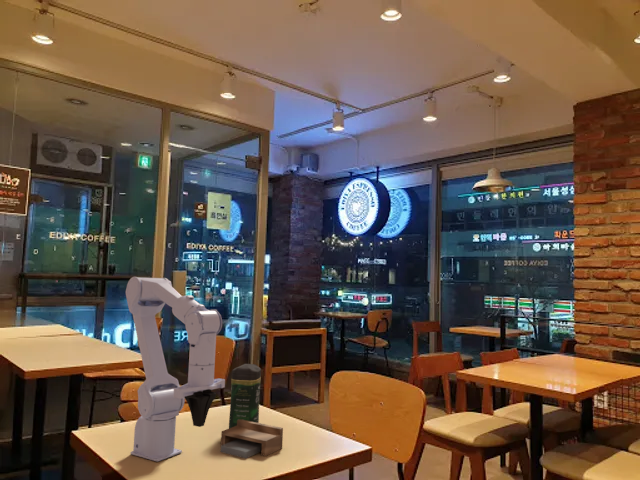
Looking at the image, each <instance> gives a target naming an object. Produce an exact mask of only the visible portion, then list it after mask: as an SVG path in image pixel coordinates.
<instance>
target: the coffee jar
mask: <svg viewBox="0 0 640 480" xmlns="http://www.w3.org/2000/svg"><path fill="white" fill-rule="evenodd" d="M261 375H262V368H261V367H259V366H258V365H257V364H254V363H253V364H252V363H243V364H242V365H239V366H237V367H235V368H234V369H232V371H231V379H230V381H231V383H230V384H231V385H230V386H231V388H230V404H229V405H230V407H229V419H228V429H229V428H232V427H235V426H237V420H239V419H241V420H246V421H251V422H256V423H260V421H259V420H260V419H259V415H260V393H261V378H262V376H261Z"/></svg>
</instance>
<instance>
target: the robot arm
mask: <svg viewBox="0 0 640 480" xmlns="http://www.w3.org/2000/svg"><path fill="white" fill-rule="evenodd" d="M125 297H126V302H127V306H128V310H129V313H131V314H132V317H133V323H134V328H135V332H136V337H137V343H138V345H139V346H138V347H139V351H140V356H141V361H142V365H143V370H144V375H145V380H144V381H143V382H142V384H140V385H139V387H138V389H137V397H138V398H137V399H138V400H137V409H138V412H139V414H140V416H139V417H138V419H137V421H136V422H135V424H134V435H133V448H132V449H133V450H131V451H130V453H129V454H131V455H133V456H136V457H138V458H139V457H140V458H144V459H147V460H150V461H154V462H161V461H164V460H165V459H168V458H171V457H174V456H176V455H179V454H181V453H182V452H183V451H182V450H181V449H179V448H175V444H176V443H175V441H176V423H177V422H176V420H177V416H179V414H180V412H181V411H182V410H183V408H184V406H185V401H186V404H187V405H188V408H189V410H190V416H191V419H192V424H193V426H194V427H200V428H201V427H204V426H205V423H206V421H207V420H206V419H207V416H208V415H209V411H210V408H211V406H212V403H214V400H215V398H217V397H216V395H217V393H216V392H215V391H213V390H217V389H224V388H226V379H225V378H215V365H216V364H215V363H216V349H217V348H216V346H217V335H218V334H219V333H220V332H221V330H222V328H223V319H222V315H221V314H220V312H219V311H218V309H207V308H206V307H205V305H204V304H201V303H199V302H198V301H196V300H195V297H194V296H193V295H192V294H190V295H182V294H180V293H179V292H178V291H177V290H176V289H175V288H174V287H173V284H172V281H171V280H169V279H168V278H166V277H142V276H141V277H137V276H132V277H131V278H130V279H129V280H128V282H127V284H126V289H125ZM165 305H167V306H169V307H170V308H172V309H171V311H172V315H174V317H176V318H177V319H178V320H179V321H181V322H182V323H183V324H184V325H185V330H186V332H187V343H189V355H188V357H189V359H188V373H187V375H188V377H187V383H185V384H183V385H180V383H179V380H178V378H176V377H175V376H172V375H171V374H170V373H169V371H168V368H167V364H166V360H165V355H164V351H163V346H162V342H161V337H160V334H159V333H160V332H159V329H158V324H157V319H156V315H157V314H158V313H161V311H162V310H163V308H164V306H165Z"/></svg>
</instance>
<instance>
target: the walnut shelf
mask: <svg viewBox="0 0 640 480" xmlns="http://www.w3.org/2000/svg"><path fill="white" fill-rule="evenodd" d="M283 431H284V428H283V427H280V426H275V425H271V424H265V423H260V422H259V423H256V422H251V421H246V420H241V419H239V420H237V426H235V427H232V428H229V427H228V428H227V429H225V430H222V431H221V434H220V435H221V437H220V438H221V439H220V446H221V445H224V444H226V443H229V442H231V441H234V440H236V439H244V440H248V441H253V442H257V443H261V444H262V450H261V452H260V455H261V456H262V457H267V456H269V455H270V454H273V453H275V452H277V451H279V450H281V449H283V441H284V440H283V439H284V438H283V433H284V432H283Z"/></svg>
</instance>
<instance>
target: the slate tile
mask: <svg viewBox="0 0 640 480" xmlns="http://www.w3.org/2000/svg"><path fill="white" fill-rule="evenodd" d="M261 450H262V444H261V443H257V442H253V441H248V440H244V439H236V440H234V441H231V442H229V443H226V444H224V445H221V444H220V453H223V454H227V455H231V456H235V457H238V458H242V459H248V458H250V457H253V456H254V455H257V454H259V453H261Z"/></svg>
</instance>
